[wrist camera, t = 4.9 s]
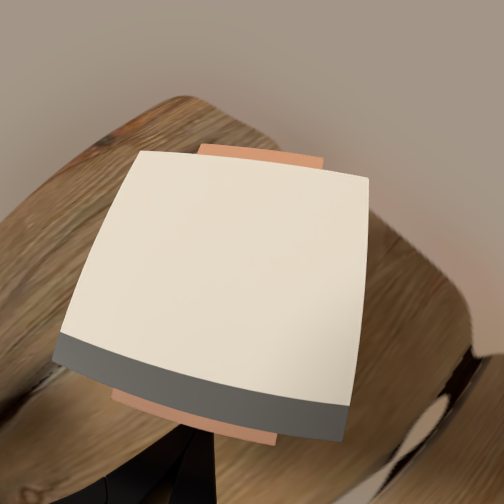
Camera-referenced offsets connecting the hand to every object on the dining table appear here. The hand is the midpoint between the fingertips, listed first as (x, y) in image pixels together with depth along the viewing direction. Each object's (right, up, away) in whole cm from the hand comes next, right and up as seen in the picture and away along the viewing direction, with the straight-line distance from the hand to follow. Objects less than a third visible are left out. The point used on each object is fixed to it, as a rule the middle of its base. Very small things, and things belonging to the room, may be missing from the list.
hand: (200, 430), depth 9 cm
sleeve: (+1, +1, +8) cm, 8 cm away
